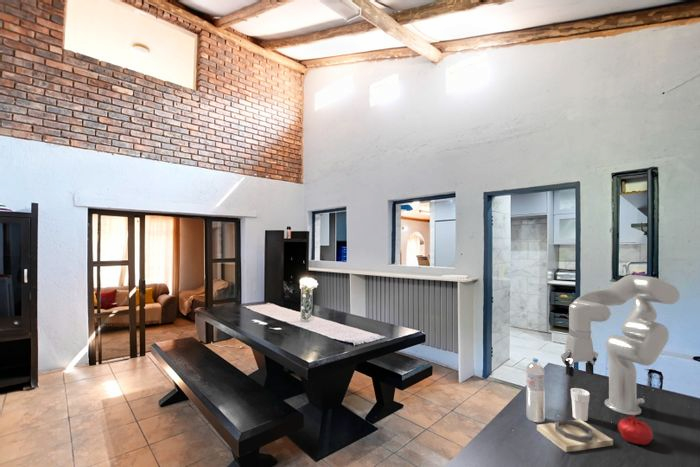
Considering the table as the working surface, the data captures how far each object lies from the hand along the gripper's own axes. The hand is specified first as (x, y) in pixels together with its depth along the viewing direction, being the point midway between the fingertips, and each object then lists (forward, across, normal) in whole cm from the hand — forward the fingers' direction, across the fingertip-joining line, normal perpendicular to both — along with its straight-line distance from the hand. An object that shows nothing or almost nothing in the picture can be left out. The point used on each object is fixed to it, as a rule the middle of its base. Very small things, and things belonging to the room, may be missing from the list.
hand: (579, 374), depth 143 cm
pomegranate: (+18, -7, +17) cm, 26 cm away
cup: (+18, 0, 0) cm, 18 cm away
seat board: (+18, +14, +11) cm, 25 cm away
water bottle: (+18, +19, -3) cm, 26 cm away
